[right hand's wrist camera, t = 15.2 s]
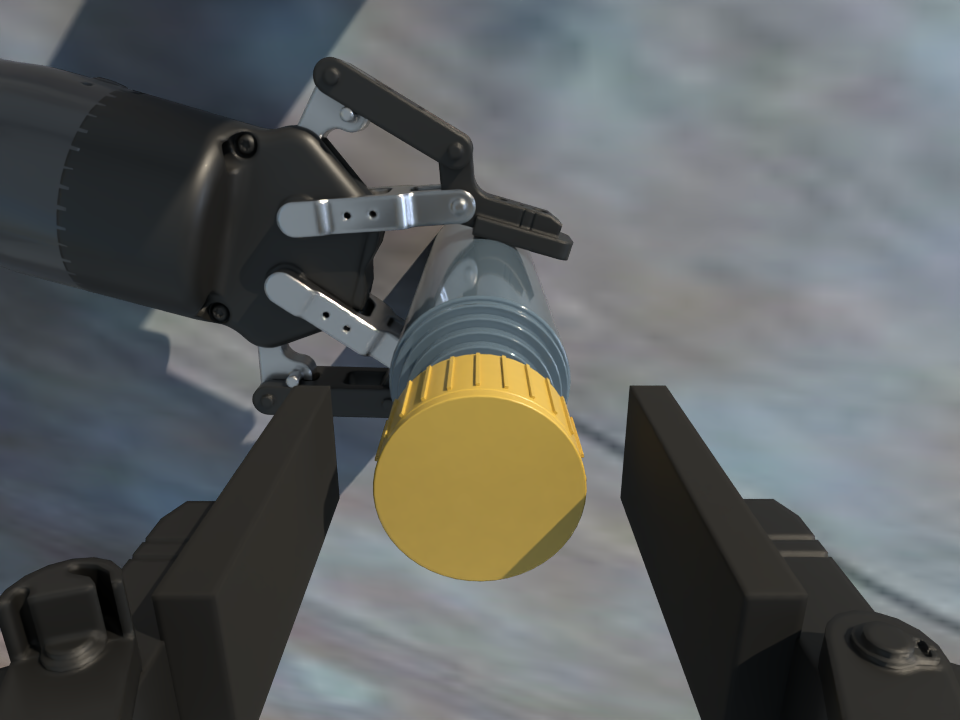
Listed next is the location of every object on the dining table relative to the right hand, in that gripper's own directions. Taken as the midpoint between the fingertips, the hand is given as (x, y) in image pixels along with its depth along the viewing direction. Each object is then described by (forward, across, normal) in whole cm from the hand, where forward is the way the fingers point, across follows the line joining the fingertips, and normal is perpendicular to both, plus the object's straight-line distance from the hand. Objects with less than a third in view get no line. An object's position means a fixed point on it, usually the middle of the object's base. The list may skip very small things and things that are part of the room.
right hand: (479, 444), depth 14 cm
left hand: (+13, -2, +1) cm, 13 cm away
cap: (-2, 0, 0) cm, 2 cm away
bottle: (+19, 0, 0) cm, 19 cm away
